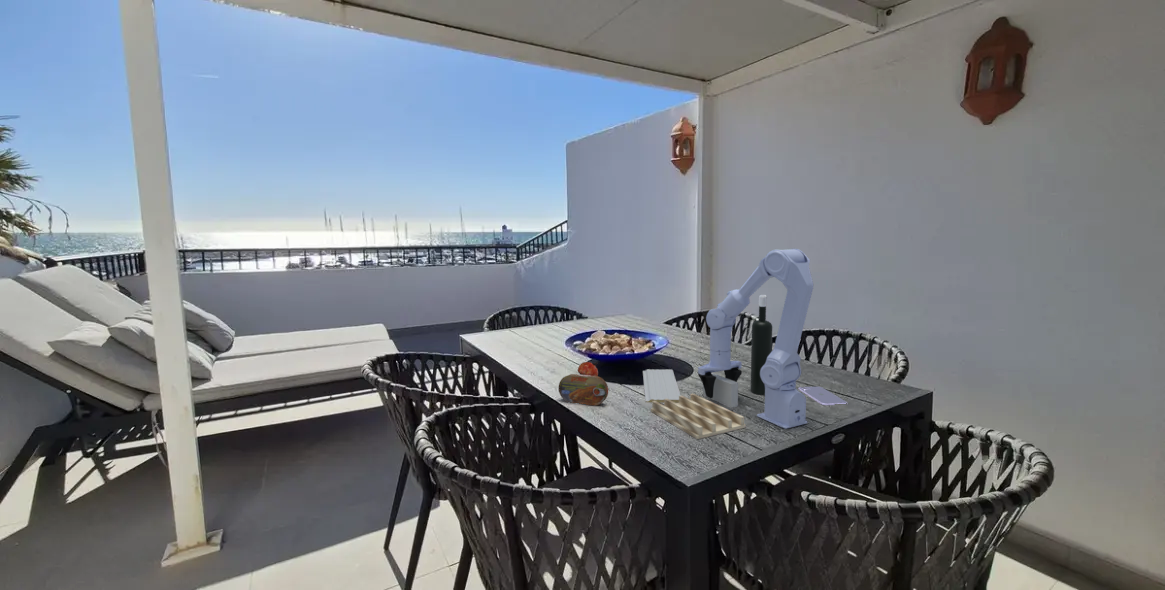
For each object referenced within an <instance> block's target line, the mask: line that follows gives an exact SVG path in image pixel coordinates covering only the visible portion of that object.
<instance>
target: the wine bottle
mask: <svg viewBox="0 0 1165 590" xmlns="http://www.w3.org/2000/svg"><path fill="white" fill-rule="evenodd" d="M767 299H768V296H767V294H759V296H758V320H755V321H754V322H752V324H751V342H750V343H751V346H750V347H751V349H750V351H751V353H750V354H751V355H750V356H751V357H750V387H749V388H750V392H751V393H752V394H755V395H758V396H765V384H764V383H763V381H762V380H761V377H760V370H761V368H762V366H763V365H764V364H765V363H766V360H767V357H768V356H769V354H770V353H771V352H772V351H773V349H772V348H773V324H772V322H770V321H769V320H767V319H766V318H767Z"/></svg>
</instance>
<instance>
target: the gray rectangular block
mask: <svg viewBox="0 0 1165 590" xmlns="http://www.w3.org/2000/svg"><path fill="white" fill-rule="evenodd" d="M711 374H712V375H713V376H715V377H716V380H715V383H714V389H713V398H709V397H707V398H708V399H709V400H710V399H711V400H713V401H715V402H717V403H718V404H719V403H720V404H722V405H724V406H725V407H728V408H730V409H732V408H733V409H734V408H736V407H738V406H739V405H738V404H739V382H738V381H737V382H735V381H732V380H730V379H727V378H725V376H722V375H719V374H716V373H715V372H712V373H711ZM702 396H704V397H706V393H705V389H704V386H703V385H702Z"/></svg>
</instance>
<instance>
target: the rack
mask: <svg viewBox="0 0 1165 590" xmlns="http://www.w3.org/2000/svg"><path fill="white" fill-rule="evenodd" d="M689 396H690V397H689V398H688V397H686V396H684V395H681V396H679V403H675V402H673V401H671V400H669V399H664V404H662V403H661V402H657V401H652V402H651V404H652V405H651V406H652V407H651V408H650V412H651V413H653V414H654V415H656V416H658V417H660V419H662V420H664V421H666V422H668V423H669V424H671V425H672V426H675V427H676V428H678V429H679V430H681V431H683V432H684V433H686V434H687V435H690V436H691V437H693V438H694V439H696V440H700V439H701V440H702V439H705V438H710V437H712V436H716V435H721V434H724V433H729V432H732V431H733V432H734V431H737V430H742V429H745V428H746V427H747V425H746V423H745V416H743V415H741V414H739V413H736V412H734V411H732V410H730V409H728V408H726V407H724V406H722V405H720V404H717V403H715V402H713V401H711V400H710V399H709V400H708V399H707V398H704V397H702V396H700V395H698V394H695V393H690V395H689Z"/></svg>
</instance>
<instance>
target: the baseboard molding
mask: <svg viewBox="0 0 1165 590" xmlns="http://www.w3.org/2000/svg"><path fill="white" fill-rule="evenodd" d="M644 368H645V367H644V366H643V367H642V368H641V369H640V373H642V376H643V387H644V388H643V389H644V398H645V399H644V400H645V403H652V401H657V402H658V403H660V404H662V403H664V399H669V400H671V401H673V402H675V403H679V396H682V395H681V392H680V389H679V386H678V383H677V380H676V376H675V374H674V370H673V369H672V366H671V367H668V366H667V367H661V366H660V365H655V366H653V368H655V369H653V368H652V369H650V368H649V369H645V370H643V369H644ZM658 368H662V369H658ZM663 368H664V369H663ZM665 368H669V369H665ZM670 368H671V369H670Z"/></svg>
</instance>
